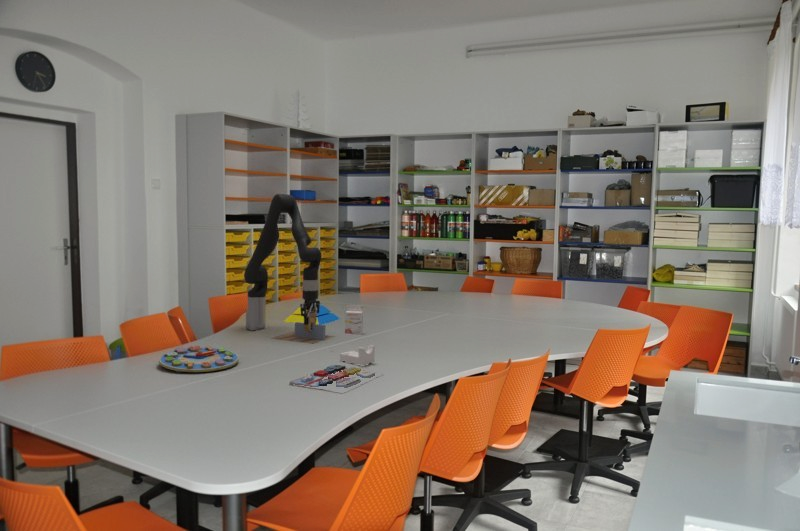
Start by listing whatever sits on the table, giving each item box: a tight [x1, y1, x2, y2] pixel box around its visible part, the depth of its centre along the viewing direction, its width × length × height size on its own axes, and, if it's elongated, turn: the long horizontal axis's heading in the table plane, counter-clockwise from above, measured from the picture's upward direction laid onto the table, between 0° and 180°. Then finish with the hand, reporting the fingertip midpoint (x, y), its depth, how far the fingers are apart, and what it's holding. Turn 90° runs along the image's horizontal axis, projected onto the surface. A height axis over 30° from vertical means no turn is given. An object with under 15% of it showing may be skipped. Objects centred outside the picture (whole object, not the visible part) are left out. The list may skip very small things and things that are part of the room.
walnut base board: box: [270, 331, 336, 345], centre depth 313 cm, size 24×20×1 cm
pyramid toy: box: [283, 299, 341, 325], centre depth 367 cm, size 25×25×14 cm
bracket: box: [339, 344, 376, 365], centre depth 269 cm, size 13×7×8 cm, turn 52°
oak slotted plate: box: [304, 312, 316, 332], centre depth 311 cm, size 2×6×9 cm, turn 156°
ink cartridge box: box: [344, 304, 364, 336], centre depth 328 cm, size 9×5×15 cm, turn 84°
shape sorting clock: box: [158, 345, 240, 374], centre depth 259 cm, size 31×30×6 cm
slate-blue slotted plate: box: [294, 322, 326, 341], centre depth 311 cm, size 16×2×7 cm, turn 65°
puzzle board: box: [289, 364, 376, 388], centre depth 241 cm, size 30×23×3 cm
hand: (310, 323), depth 311 cm, fingers closed on oak slotted plate, 6 cm apart
